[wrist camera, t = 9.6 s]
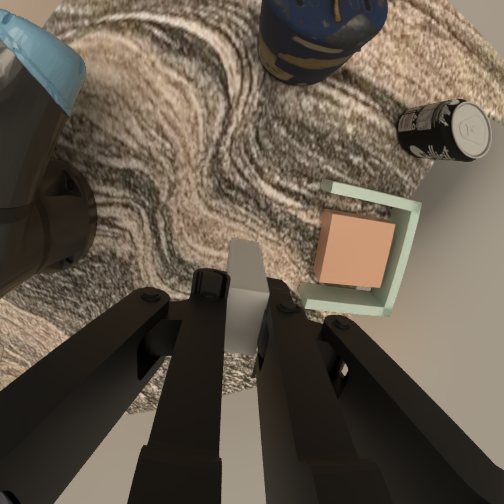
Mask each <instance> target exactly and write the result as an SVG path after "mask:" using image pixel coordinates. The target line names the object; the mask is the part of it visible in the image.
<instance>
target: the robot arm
mask: <svg viewBox="0 0 504 504" xmlns="http://www.w3.org/2000/svg"><path fill="white" fill-rule="evenodd" d="M85 78H86V65H85V63H84V61H83V59H82V58H81V57H80V55H79V54H77V53H76V52H75V51H74V50H73V49H72V48H70V47H69V46H68V45H67V44H65V43H64V42H62V41H61V40H59V39H58V38H57V37H55V36H54V35H52V34H51V33H49V32H47V31H46V30H44V29H43V28H41V27H39V26H37V25H36V24H34V23H32V22H30V21H28V20H26V19H24V18H22V17H20V16H16V15H14V14H12V13H10V12H8V11H6V10H3V9H0V299H1V298H2V297H3V296H5V295H6V294H8V293H9V292H10V291H12V290H13V289H15V288H16V287H17V286H19V285H20V284H22V283H23V282H25V281H26V280H27V279H29V278H30V277H32V276H33V275H35V274H41V273H53V272H60V271H63V270H65V269H67V268H69V267H71V266H72V265H74V264H75V263H77V262H78V261H79V260H80V259H82V258H83V257H84V255H85V254H86V253H87V252H88V250H89V248H90V246H91V244H92V242H93V239H94V236H95V232H96V225H97V212H96V204H95V200H94V196H93V193H92V191H91V188H90V186H89V184H88V183H87V181H86V179H85V178H84V176H83V175H82V174H81V173H80V172H79V171H78V170H77V169H76V168H75V167H74V166H72V165H71V164H69V163H67V162H65V161H62V160H57V159H50V158H51V155H52V153H53V150H54V148H55V145H56V143H57V141H58V139H59V136H60V134H61V132H62V130H63V128H64V125H65V123H66V121H67V119H68V117H70V116H71V115H72V108H73V105H74V103H75V101H76V98H77V96H78V94H79V92H80V89H81V87H82V85H83V83H84V81H85ZM169 299H170V298H169V295H168V294H167V293H166V292H165V291H163V290H160V289H157V288H154V287H145V288H139V289H137V290H134V291H133V292H132V293H130V294H129V295H127V296H126V297H125V298H123V299H122V300H120V301H119V302H118V303H116V304H115V305H114V306H112V307H111V308H109V309H108V310H107V311H105V312H104V313H102V314H101V315H100V316H98V317H97V318H96V319H94V320H93V321H92V322H90V323H89V324H88V325H86V326H85V327H83V328H82V329H81V330H79V331H78V332H77V333H75V334H74V335H73V336H71V337H70V338H69V339H67V340H66V341H65V342H63V343H62V344H61V345H59V346H58V347H57V348H55V349H54V350H53V351H51V352H50V353H49V354H48V355H46V356H45V357H44V358H42V359H41V360H40V361H38V362H37V363H36V364H35V365H33V366H32V367H31V368H29V369H28V370H27V371H26V372H24V373H23V374H22V375H20V376H19V377H18V378H17V379H15V380H14V381H13V382H12V383H10V384H9V385H8V386H6V387H5V388H4V389H3V390H1V391H0V504H54V502H55V501H56V500H57V499H58V497H59V496H60V495H61V493H62V492H63V491H64V490H65V488H66V487H67V486H68V484H69V483H70V482H71V481H72V479H73V478H74V477H75V475H76V474H77V473H78V472H79V470H80V469H81V468H82V466H83V465H84V464H85V463H86V461H87V460H88V459H89V457H90V456H91V455H92V454H93V452H94V451H95V450H96V448H97V447H98V446H99V445H100V443H101V442H102V441H103V439H104V438H105V437H106V436H107V434H108V433H109V432H110V431H111V429H112V428H113V427H114V425H115V424H116V423H117V422H118V420H119V419H120V418H121V416H122V415H123V414H124V413H125V411H126V410H127V409H128V407H129V406H130V405H131V404H132V402H133V401H134V400H135V398H136V397H137V396H138V395H139V393H140V392H141V391H142V389H143V388H144V387H145V386H146V384H147V383H148V382H149V380H150V379H151V378H152V377H153V375H154V374H155V373H156V372H157V370H158V369H159V368H160V366H161V365H162V364H163V363H164V360H165V356H172V357H171V361H170V364H169V367H168V371H167V374H166V378H165V382H164V385H163V389H162V392H161V396H160V400H159V403H158V407H157V411H156V415H155V418H154V422H153V426H152V430H151V434H150V438H149V441H148V444H147V446H146V445H143V447H142V449H141V452H140V455H139V458H138V462H137V466H136V470H135V474H134V477H133V482H132V486H131V490H130V494H129V498H128V503H127V504H221V483H222V461H221V458H219V441H220V419H221V398H222V379H223V360H224V351H226V352H232V353H240V354H247V355H255V353H256V348H257V346H258V354H257V358H256V362H255V366H254V370H253V374H252V377H251V378H254V377H255V375H256V379H257V392H258V405H259V418H260V430H261V443H262V456H263V467H264V481H265V493H266V504H504V470H503V469H501V468H499V467H498V466H496V465H495V464H494V463H493V462H492V461H491V460H490V459H489V458H488V457H487V456H486V455H485V454H484V453H483V451H482V450H481V449H480V448H479V447H478V446H477V445H476V444H475V443H474V442H473V441H472V440H471V439H470V438H469V437H468V436H467V435H466V434H465V433H464V431H463V430H462V429H461V428H460V427H459V426H458V425H457V424H456V423H455V422H454V421H453V420H452V419H451V418H450V417H449V416H448V415H447V414H446V413H445V412H444V411H443V410H442V409H441V408H440V407H439V406H438V405H437V404H436V403H435V402H434V401H433V400H432V399H431V398H430V397H429V396H428V395H427V394H426V392H424V391H423V390H422V388H421V387H419V385H418V384H417V383H416V382H415V381H414V380H413V379H412V378H410V376H409V375H408V374H407V373H406V372H405V371H403V369H402V368H401V367H400V366H399V365H398V364H397V363H396V362H395V361H394V360H393V359H392V358H391V357H390V356H388V354H387V353H386V352H385V351H384V350H383V349H381V347H379V345H378V344H377V343H376V342H374V341H373V340H372V339H371V338H370V337H369V336H368V335H367V334H366V333H365V332H364V331H363V330H362V329H361V328H360V327H359V326H358V325H357V324H356V323H355V322H354V321H352V320H351V319H348V318H347V317H345V316H342V315H328V316H327V317H325V319H324V323H323V324H321V323H317V322H314V321H311V320H308V319H307V317H306V314H305V312H304V310H303V309H302V307H300V306H299V305H297V304H295V303H293V300H292V297H291V295H290V292H289V289H288V286H287V284H286V283H284V282H283V281H282V280H279V279H273V278H267V277H266V274H265V269H264V265H263V260H262V255H261V251H260V246H259V242H254V241H248V240H243V239H237V238H231V243H230V249H229V255H228V260H227V266H226V272H225V271H221V270H217V269H211V268H201V269H197V270H195V271H194V273H193V280H192V288H191V295H190V298H189V299H187V300H184V301H169ZM344 364H346V365H347V367H348V372H347V374H346V376H344V375H343V374H342V372H341V371H342V369H343V367H344Z"/></svg>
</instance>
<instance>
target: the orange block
mask: <svg viewBox="0 0 504 504" xmlns="http://www.w3.org/2000/svg"><path fill="white" fill-rule="evenodd" d="M394 229H395V224H394V223H392V222H390V221H388V220H386V219H384V218H379V217H374V216H368V215H362V214H356V213H350V212H344V211H338V210H331V209H325V208H324V213H323V219H322V225H321V230H320V236H319V241H318V247H317V252H316V257H315V262H314V267H313V272H314V274H315V276H316V277H317V279H318V281H319V282H323V283H333V284H343V285H354V286H365V287H376V288H380V286H381V283H382V279H383V275H384V271H385V267H386V263H387V259H388V255H389V251H390V247H391V242H392V238H393V234H394Z"/></svg>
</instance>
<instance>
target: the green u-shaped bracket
mask: <svg viewBox="0 0 504 504" xmlns="http://www.w3.org/2000/svg"><path fill="white" fill-rule="evenodd" d="M320 188H321V189H323V190H325V191H328V192H330V193H334V194H338V195H343V196H348V197H353V198H357V199H362V200H366V201H370V202H375V203H379V204H383V205H388V206H392V211H391V216H390V220H389V221H390V222H392V223H394V224H395V229H394V234H393V238H392V242H391V247H390V251H389V255H388V259H387V263H386V267H385V271H384V275H383V279H382V283H381V286H380V288H376V287H371V291H364V290H356V289H349V288H341V287H333V286H326V285H318V284H311V283H303V282H300V285H299V289H298V291H299V294H300V297H301V299H302V302H303V305H304V307H305V308H306V309H315V310H324V311H333V312H342V313H352V314H363V315H373V316H384V317H389V316H390V314H391V311H392V308H393V305H394V302H395V299H396V296H397V293H398V290H399V287H400V283H401V280H402V277H403V274H404V271H405V267H406V264H407V260H408V257H409V253H410V250H411V246H412V242H413V238H414V235H415V230H416V227H417V223H418V218H419V214H420V209H421V205H422V203H419V202H416V201H413V200H410V199H407V198H403V197H400V196H396V195H392V194H388V193H384V192H380V191H376V190H372V189H368V188H363V187H359V186H355V185H350V184H346V183H341V182H337V181H332V180H327V179H323V178H322V181H321V186H320Z"/></svg>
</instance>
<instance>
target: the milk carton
mask: <svg viewBox="0 0 504 504" xmlns="http://www.w3.org/2000/svg"><path fill="white" fill-rule="evenodd" d="M3 349H4V348H3V347H2V346H1V345H0V361H1V357H2V353H3Z"/></svg>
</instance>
